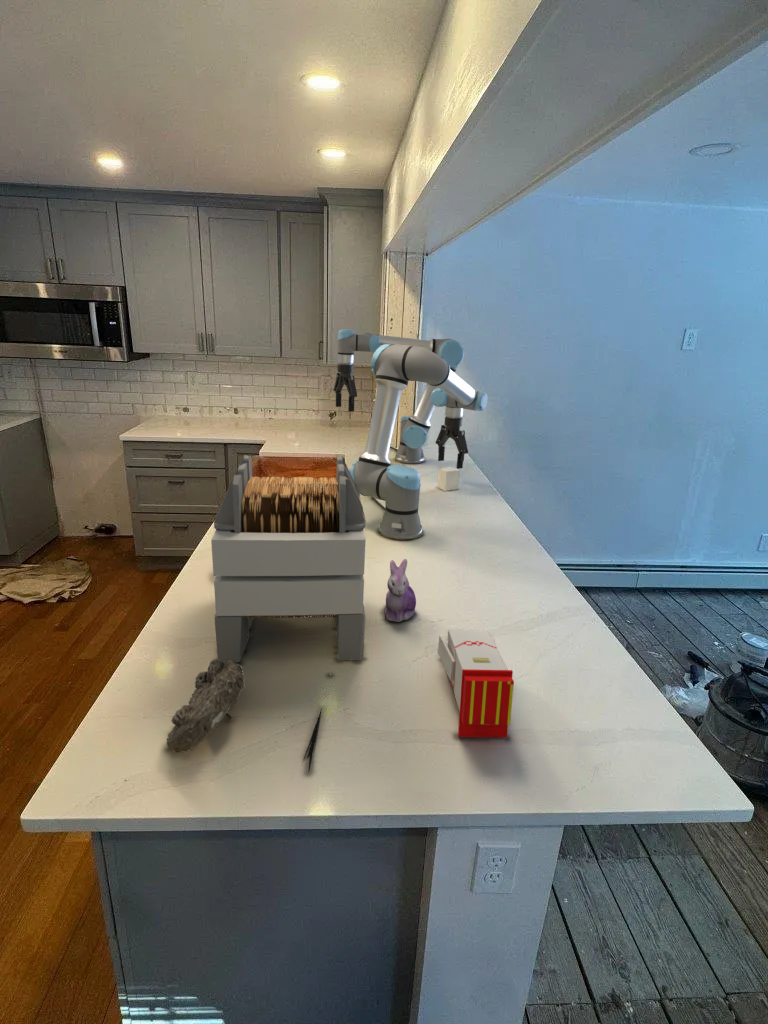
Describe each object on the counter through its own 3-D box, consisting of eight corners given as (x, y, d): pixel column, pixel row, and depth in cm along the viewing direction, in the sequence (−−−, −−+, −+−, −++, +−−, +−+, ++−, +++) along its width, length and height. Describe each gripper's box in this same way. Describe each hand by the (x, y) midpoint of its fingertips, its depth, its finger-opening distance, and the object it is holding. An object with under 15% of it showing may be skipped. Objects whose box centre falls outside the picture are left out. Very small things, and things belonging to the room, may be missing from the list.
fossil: (192, 660, 117) (244, 628, 112) (224, 691, 120) (276, 661, 115) (142, 746, 98) (202, 712, 93) (182, 779, 101) (242, 748, 96)
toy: (488, 613, 130) (523, 677, 101) (484, 667, 133) (517, 744, 104) (435, 612, 130) (455, 676, 101) (432, 666, 133) (451, 743, 103)
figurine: (392, 627, 141) (395, 572, 136) (374, 608, 149) (376, 556, 144) (425, 619, 145) (429, 566, 140) (405, 601, 154) (408, 550, 149)
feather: (331, 679, 122) (336, 673, 122) (307, 777, 96) (313, 769, 95) (324, 675, 122) (329, 669, 121) (298, 772, 95) (304, 764, 95)
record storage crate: (236, 591, 155) (228, 445, 141) (355, 589, 159) (359, 447, 145) (214, 665, 123) (202, 486, 109) (364, 661, 127) (370, 487, 113)
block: (445, 491, 250) (446, 471, 247) (437, 487, 254) (438, 468, 251) (458, 489, 253) (459, 469, 250) (450, 485, 258) (451, 466, 255)
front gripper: (479, 421, 235) (474, 470, 242) (443, 410, 255) (440, 456, 262) (465, 422, 231) (460, 472, 238) (429, 412, 251) (426, 458, 258)
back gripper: (365, 366, 259) (363, 412, 266) (340, 361, 279) (340, 404, 286) (350, 366, 255) (349, 413, 262) (327, 361, 275) (326, 405, 282)
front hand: (450, 464), depth 250 cm, fingers open, 13 cm apart
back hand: (344, 409), depth 274 cm, fingers open, 13 cm apart
